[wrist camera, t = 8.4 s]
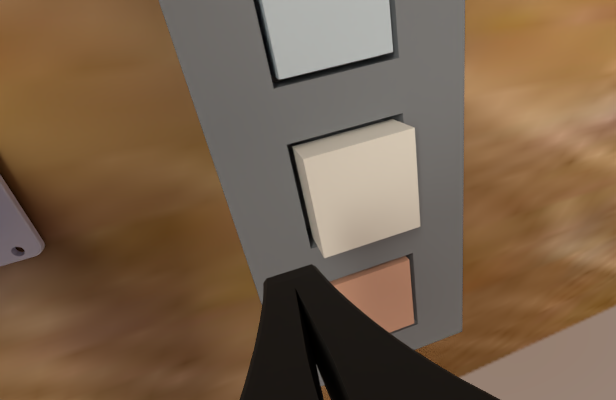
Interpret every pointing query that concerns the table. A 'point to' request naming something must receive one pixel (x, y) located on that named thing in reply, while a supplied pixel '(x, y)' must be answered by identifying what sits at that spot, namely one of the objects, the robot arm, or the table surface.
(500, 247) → the table surface
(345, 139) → the off-white key
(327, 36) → the pale blue key
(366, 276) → the terracotta key
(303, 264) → the key console
